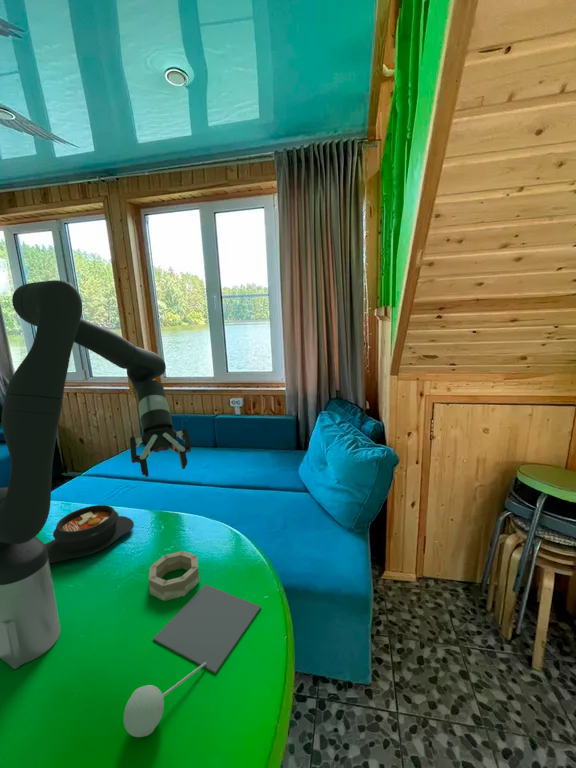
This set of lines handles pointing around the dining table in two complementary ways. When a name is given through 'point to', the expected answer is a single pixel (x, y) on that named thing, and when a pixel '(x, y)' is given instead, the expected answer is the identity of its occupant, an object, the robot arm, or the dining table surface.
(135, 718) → the lollipop
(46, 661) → the dining table surface
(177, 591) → the octagonal ring
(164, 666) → the dining table surface
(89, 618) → the dining table surface
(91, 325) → the robot arm
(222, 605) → the mat
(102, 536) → the casserole
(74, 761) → the dining table surface
